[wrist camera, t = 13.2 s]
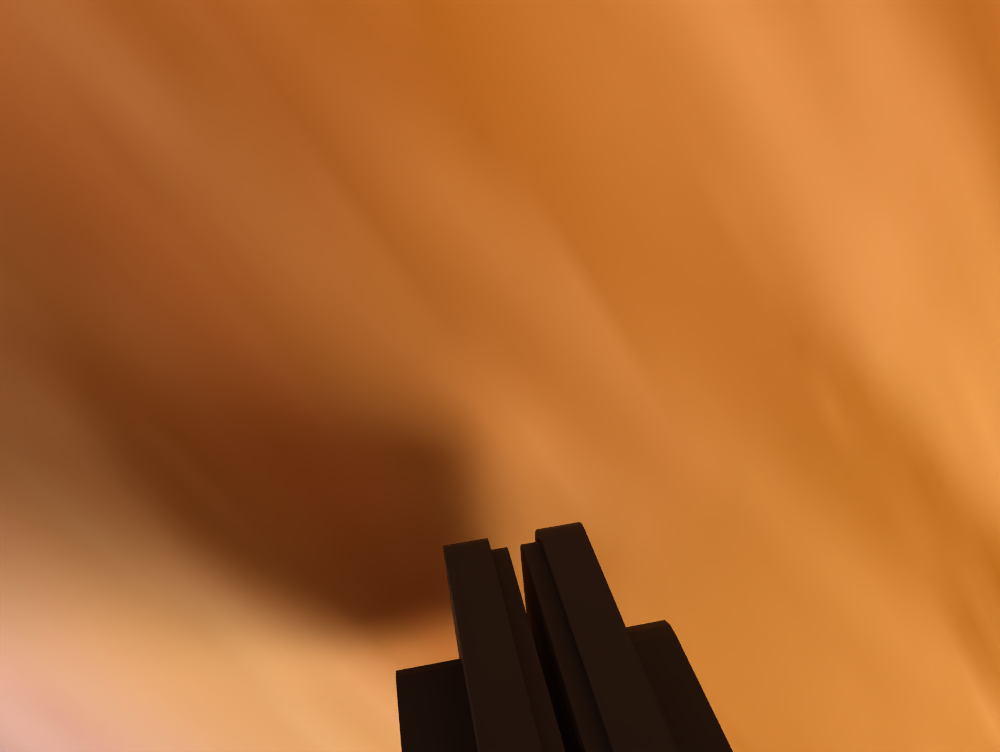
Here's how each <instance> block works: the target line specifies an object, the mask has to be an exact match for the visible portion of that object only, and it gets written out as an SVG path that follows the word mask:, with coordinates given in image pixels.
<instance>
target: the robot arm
mask: <svg viewBox="0 0 1000 752" xmlns="http://www.w3.org/2000/svg"><path fill="white" fill-rule="evenodd" d="M443 549H444V557H445V564H446V570H447V577H448V584H449V591H450V598H451V605H452V611H453V618H454V625H455V632H456V639H457V646H458V652H459V659H456V660H451V661H445V662H440V663H435V664H430V665H424V666H419V667H414V668H408V669H403V670H398V671H396V685H397V698H398V711H399V723H400V735H401V747H402V752H733V751H732V749H731V747H730V745H729V743H728V741H727V739H726V737H725V735H724V733H723V731H722V728H721V726H720V724H719V722H718V720H717V718H716V716H715V714H714V712H713V710H712V708H711V706H710V704H709V702H708V700H707V698H706V696H705V694H704V692H703V690H702V687H701V685H700V683H699V681H698V679H697V677H696V675H695V673H694V671H693V669H692V667H691V665H690V663H689V661H688V659H687V657H686V655H685V653H684V651H683V649H682V646H681V644H680V642H679V640H678V638H677V636H676V634H675V633H674V631H673V629H672V627H671V626H670V624H669V623H667V622H666V621H665V620H663V621H657V622H652V623H647V624H641V625H636V626H631V627H625V624H624V622H623V619H622V617H621V615H620V612H619V610H618V607H617V605H616V603H615V600H614V598H613V596H612V593H611V591H610V588H609V586H608V584H607V581H606V579H605V577H604V574H603V572H602V569H601V567H600V565H599V562H598V560H597V558H596V555H595V553H594V550H593V548H592V546H591V543H590V541H589V539H588V536H587V534H586V531H585V529H584V527H583V525H582V524H581V523H580V522H577V523H572V524H566V525H560V526H554V527H549V528H543V529H537V530H536V531H535V542H534V543H528V544H522V545H521V548H520V550H521V562H522V572H523V583H524V593H525V603H526V611H525V607H524V604H523V600H522V597H521V593H520V589H519V586H518V582H517V579H516V575H515V572H514V568H513V565H512V561H511V558H510V554H509V551H508V548H507V547H505V548H500V549H494V550H491V548H490V544H489V541H488V539H487V538H486V539H480V540H474V541H468V542H463V543H457V544H451V545H446V546H443Z"/></svg>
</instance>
